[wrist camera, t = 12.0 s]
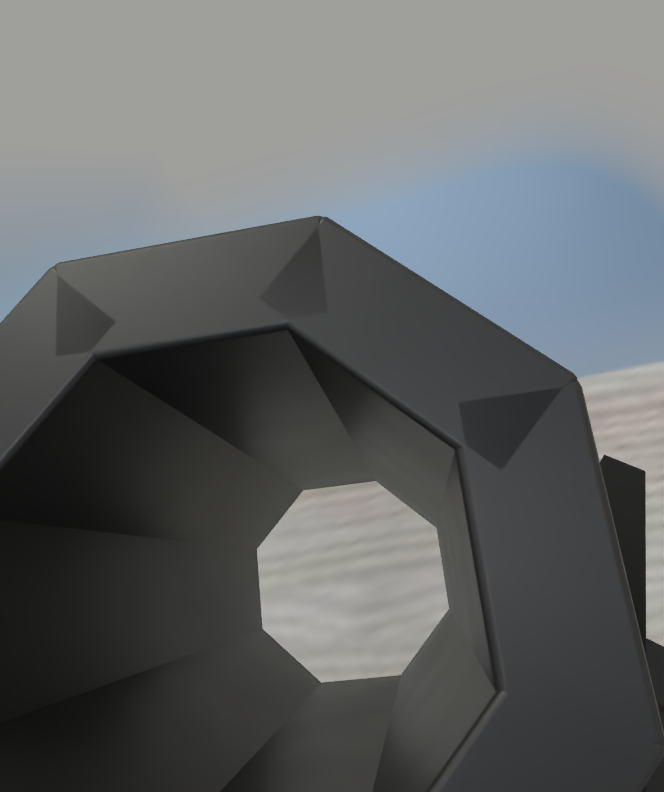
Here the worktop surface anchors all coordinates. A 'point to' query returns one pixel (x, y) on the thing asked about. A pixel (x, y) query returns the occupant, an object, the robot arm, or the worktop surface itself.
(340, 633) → the worktop surface
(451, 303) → the grey octagonal sleeve
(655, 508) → the worktop surface
